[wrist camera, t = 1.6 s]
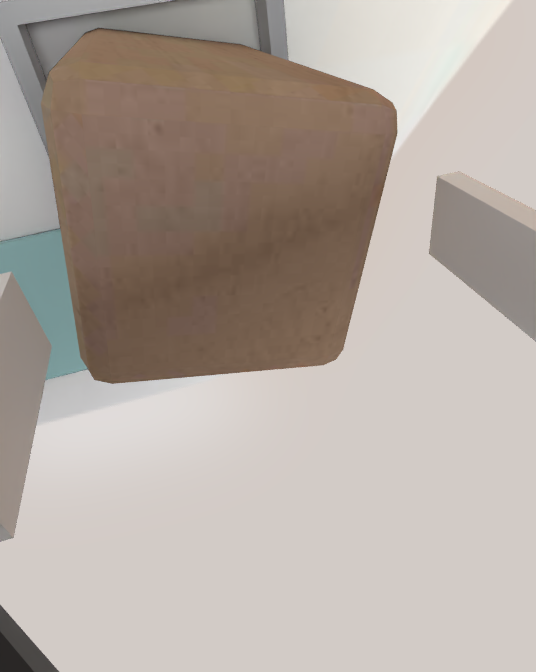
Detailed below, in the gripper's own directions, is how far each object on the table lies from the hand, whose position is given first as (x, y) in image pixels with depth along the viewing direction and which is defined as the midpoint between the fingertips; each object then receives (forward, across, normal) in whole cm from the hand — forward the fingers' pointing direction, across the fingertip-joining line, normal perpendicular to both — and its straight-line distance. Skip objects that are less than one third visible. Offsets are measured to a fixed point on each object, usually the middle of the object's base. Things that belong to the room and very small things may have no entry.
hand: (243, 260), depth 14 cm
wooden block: (+20, 0, 0) cm, 20 cm away
